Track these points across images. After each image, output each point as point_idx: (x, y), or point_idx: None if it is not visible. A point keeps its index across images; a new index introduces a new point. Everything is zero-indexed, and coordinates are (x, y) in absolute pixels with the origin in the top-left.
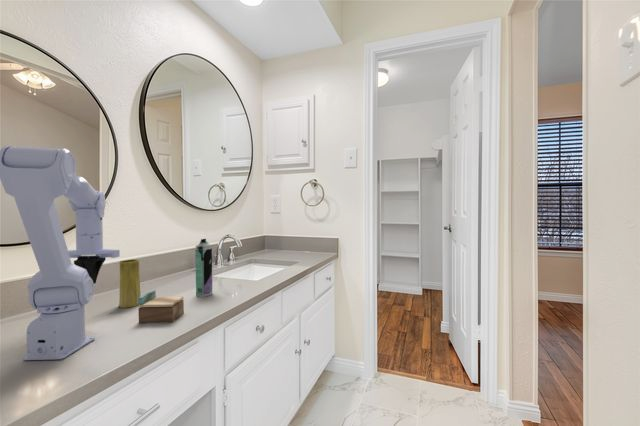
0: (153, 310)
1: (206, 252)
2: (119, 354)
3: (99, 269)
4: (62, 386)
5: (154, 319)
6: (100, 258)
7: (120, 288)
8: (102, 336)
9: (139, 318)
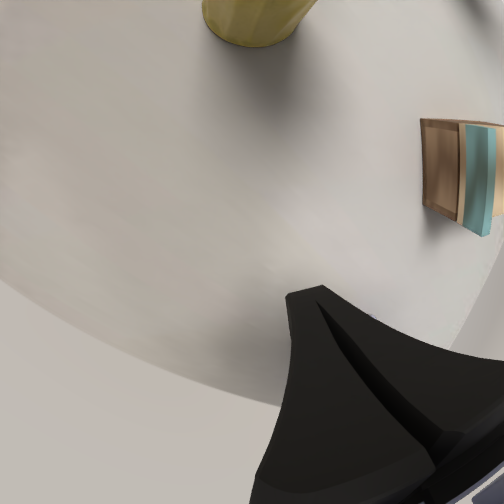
0: None
1: None
2: (439, 335)
3: (405, 340)
4: None
5: None
6: (491, 441)
7: (244, 3)
8: (379, 296)
9: (433, 208)
